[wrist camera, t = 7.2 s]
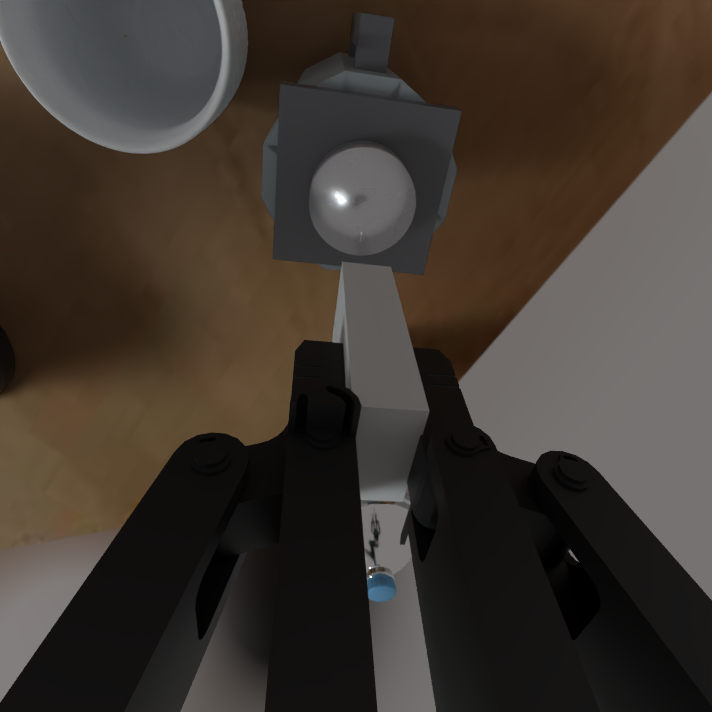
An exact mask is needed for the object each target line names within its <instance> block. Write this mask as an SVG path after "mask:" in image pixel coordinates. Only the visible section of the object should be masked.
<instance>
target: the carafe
mask: <svg viewBox="0 0 712 712" xmlns="http://www.w3.org/2000/svg"><path fill="white" fill-rule="evenodd" d="M394 19H395V18H391V17H385V16H379V15H373V14H367V13H353V14H352V24H351V33H350V42H349V51H348V54H347V53H341V52H339V53H337V54H335V55H333V56H330V57H328V58H325V59H323V60H321V61H319V62H317V63H316V64H314V65H312V66H310V67H308V68H306V69H305V70H304V71H303V73H302V75H301V76H300V78H299V79H298V81H297V83H292V82H285V81H282V82H281V83H280V97H279V114H278V116H277V118H276V120H275V122H274V124H273V126H272V128H271V130H270V132H269V134H268V135H267V137H266V139H265V141H264V143H263V170H262V199H263V201H264V203H265V205H266V207H267V209H268V211H269V213H270V214H271V216H272V218H273V220H274V245H273V259H278V260H287V261H297V262H306V263H316V264H318V265H320V266H321V267H323V268H324V269H333V270H341V267H342V262H350V263H360V264H369V265H379V266H389V267H391V269H392V272H400V273H409V274H419V275H423V273H424V269H425V265H426V261H427V256H428V252H429V248H430V244H431V239H432V235H433V233H434V232H435V231H436V229H437V228H438V227H439V226H440V225H441V224H442V223H443V221H444V220H445V217H446V213H447V209H448V205H449V201H450V197H451V193H452V189H453V185H454V181H455V177H456V173H457V168H456V164H455V160H454V157H453V153H452V151H453V147H454V142H455V138H456V134H457V130H458V125H459V121H460V117H461V113H462V111H461V110H460V109H458V108H457V107H452V106H445V105H439V104H432V103H427V102H425V101H424V100H423V99H422V98H421V97H420V96H419V95H418V94H417V93H416V92H415V91H414V90H413V89H411V88H410V87H409V86H408V85H407V84H406V83H405V82H404V81H403V80H402V79H401V78H400V77H398V76H397V75H396V74H395V73H394V72H393V71H391V70H390V69H389V68H388V67H387V66H388V59H389V52H390V46H391V39H392V32H393V26H394ZM360 140H363V141H371V142H376V143H379V144H381V145H383V146H385V147H387V148H389V149H390V150H391V151H393V152H394V153H395V154H396V155H397V156H398V157H399V158H400V160H401V161H402V162H403V164H404V165H405V167H406V169H407V171H408V173H409V175H410V177H411V179H412V182H413V184H414V188H415V193H416V208H415V213H414V217H413V220H412V222H411V225H410V226H409V228H408V230H407V231H406V233H405V234H404V235H403V237H402V238H401V239H400V240H399V241H398V242H396V243H395V244H394V245H393V246H391V247H389V248H388V249H386V250H384V251H382V252H379V253H376V254H371V255H362V256H361V255H351V254H347V253H344V252H341V251H339V250H337V249H335V248H333V247H332V246H330V245H329V244H328V243H327V242H325V241H324V239H323V238H322V237H321V236H320V235H319V233H318V232H317V230H316V229H315V227H314V225H313V222H312V220H311V216H310V211H309V194H310V186H311V180H312V177H313V174H314V172H315V169H316V167H317V166H318V164H319V163H320V161H321V160H322V159H323V158H324V157H325V156H326V155H327V154H328V153H329V152H330V151H331V150H333V149H334V148H336V147H338V146H340V145H342V144H345V143H347V142H352V141H360Z"/></svg>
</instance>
